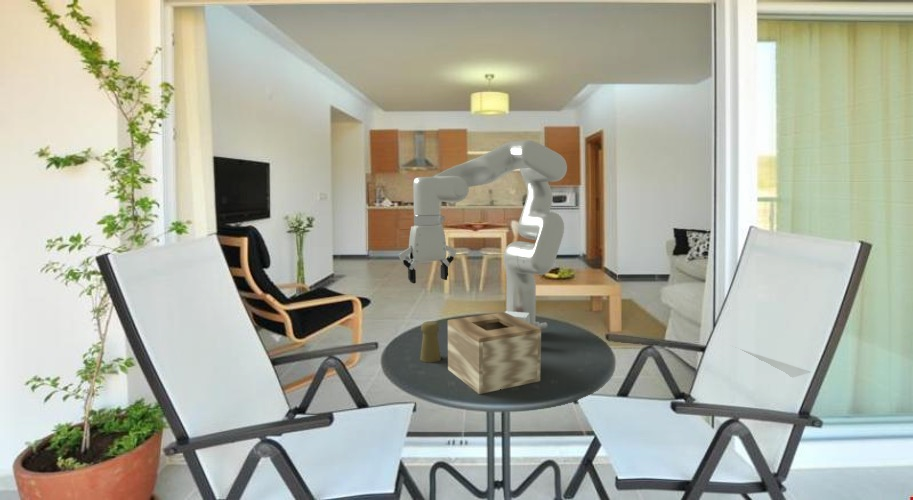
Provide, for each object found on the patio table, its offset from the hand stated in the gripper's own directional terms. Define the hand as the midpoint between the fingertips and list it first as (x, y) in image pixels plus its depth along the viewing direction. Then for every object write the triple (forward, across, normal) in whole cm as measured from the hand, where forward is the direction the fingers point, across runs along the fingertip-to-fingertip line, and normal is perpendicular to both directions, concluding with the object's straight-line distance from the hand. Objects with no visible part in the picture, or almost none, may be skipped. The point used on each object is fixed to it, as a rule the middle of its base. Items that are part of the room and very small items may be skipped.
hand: (428, 280), depth 145 cm
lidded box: (+23, -10, +19) cm, 32 cm away
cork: (+23, 0, 0) cm, 23 cm away
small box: (+24, -28, +2) cm, 37 cm away
